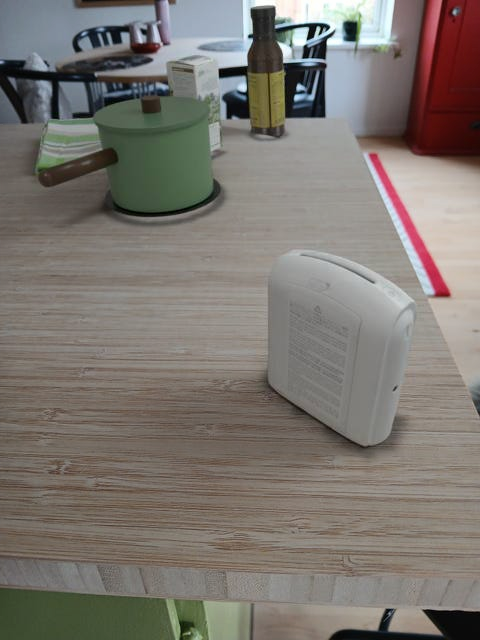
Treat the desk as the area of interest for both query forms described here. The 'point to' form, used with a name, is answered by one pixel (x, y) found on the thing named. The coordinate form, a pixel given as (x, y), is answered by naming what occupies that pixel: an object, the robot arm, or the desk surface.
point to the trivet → (119, 209)
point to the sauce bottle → (265, 75)
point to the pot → (148, 154)
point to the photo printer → (338, 342)
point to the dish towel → (67, 142)
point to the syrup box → (198, 88)
